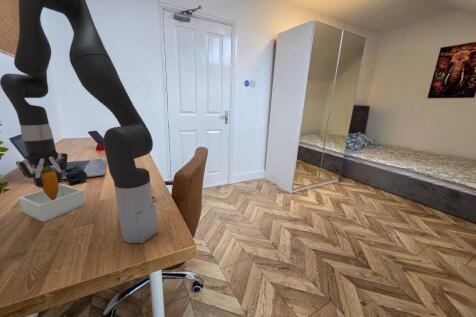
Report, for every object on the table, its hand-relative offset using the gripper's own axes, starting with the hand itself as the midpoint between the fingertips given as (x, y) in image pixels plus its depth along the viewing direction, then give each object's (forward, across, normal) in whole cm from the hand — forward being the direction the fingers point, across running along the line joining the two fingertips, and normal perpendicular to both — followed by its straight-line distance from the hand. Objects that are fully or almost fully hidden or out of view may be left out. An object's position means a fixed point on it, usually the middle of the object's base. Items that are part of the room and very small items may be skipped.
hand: (50, 184), depth 75 cm
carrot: (+7, 0, 0) cm, 7 cm away
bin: (+10, 0, 0) cm, 10 cm away
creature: (+10, +19, -26) cm, 34 cm away
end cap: (+10, +19, +21) cm, 30 cm away
